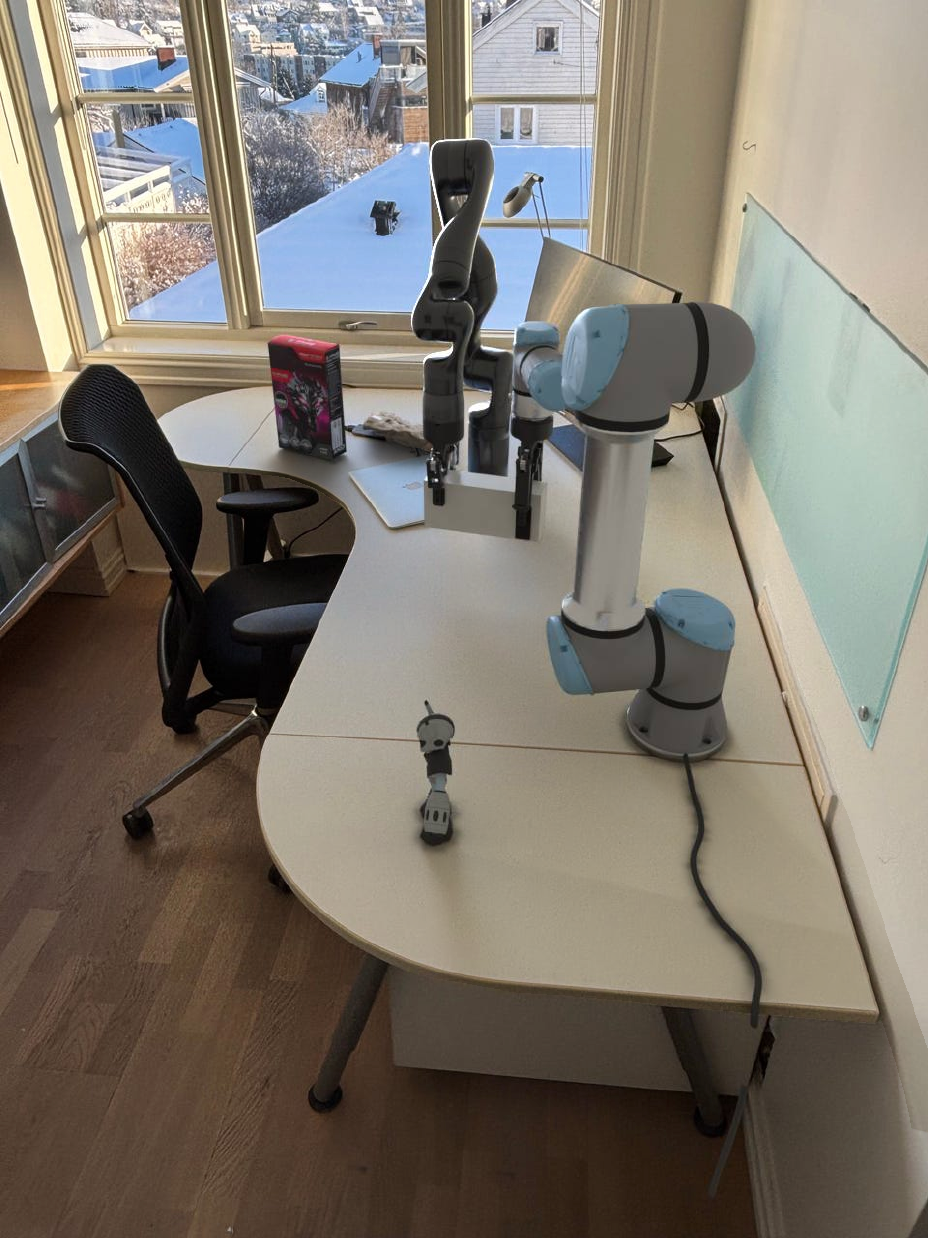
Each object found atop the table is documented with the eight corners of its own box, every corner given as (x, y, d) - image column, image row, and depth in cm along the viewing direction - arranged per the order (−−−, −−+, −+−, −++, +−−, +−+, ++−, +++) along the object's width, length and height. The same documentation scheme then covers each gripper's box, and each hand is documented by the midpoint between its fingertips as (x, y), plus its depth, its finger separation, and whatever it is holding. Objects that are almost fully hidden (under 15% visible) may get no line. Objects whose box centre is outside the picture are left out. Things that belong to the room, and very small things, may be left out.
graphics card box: (276, 448, 231) (264, 340, 216) (293, 439, 236) (282, 332, 221) (333, 462, 225) (324, 351, 209) (349, 452, 230) (341, 343, 214)
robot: (457, 879, 118) (458, 763, 107) (419, 880, 118) (416, 764, 107) (451, 772, 135) (451, 662, 123) (418, 773, 134) (415, 663, 123)
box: (544, 528, 176) (547, 481, 171) (538, 542, 172) (541, 495, 166) (433, 513, 181) (432, 467, 176) (424, 526, 177) (423, 480, 171)
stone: (346, 435, 230) (351, 411, 228) (368, 426, 244) (372, 404, 241) (425, 459, 227) (430, 436, 224) (442, 449, 240) (447, 427, 238)
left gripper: (435, 397, 173) (435, 479, 182) (411, 425, 161) (413, 511, 170) (473, 401, 171) (472, 484, 180) (452, 430, 159) (452, 516, 169)
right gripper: (522, 393, 170) (517, 505, 183) (498, 431, 155) (495, 551, 168) (563, 397, 168) (555, 510, 181) (542, 436, 153) (535, 557, 166)
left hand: (443, 497), depth 175 cm, fingers closed on box, 6 cm apart
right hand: (526, 530), depth 174 cm, fingers closed on box, 6 cm apart
